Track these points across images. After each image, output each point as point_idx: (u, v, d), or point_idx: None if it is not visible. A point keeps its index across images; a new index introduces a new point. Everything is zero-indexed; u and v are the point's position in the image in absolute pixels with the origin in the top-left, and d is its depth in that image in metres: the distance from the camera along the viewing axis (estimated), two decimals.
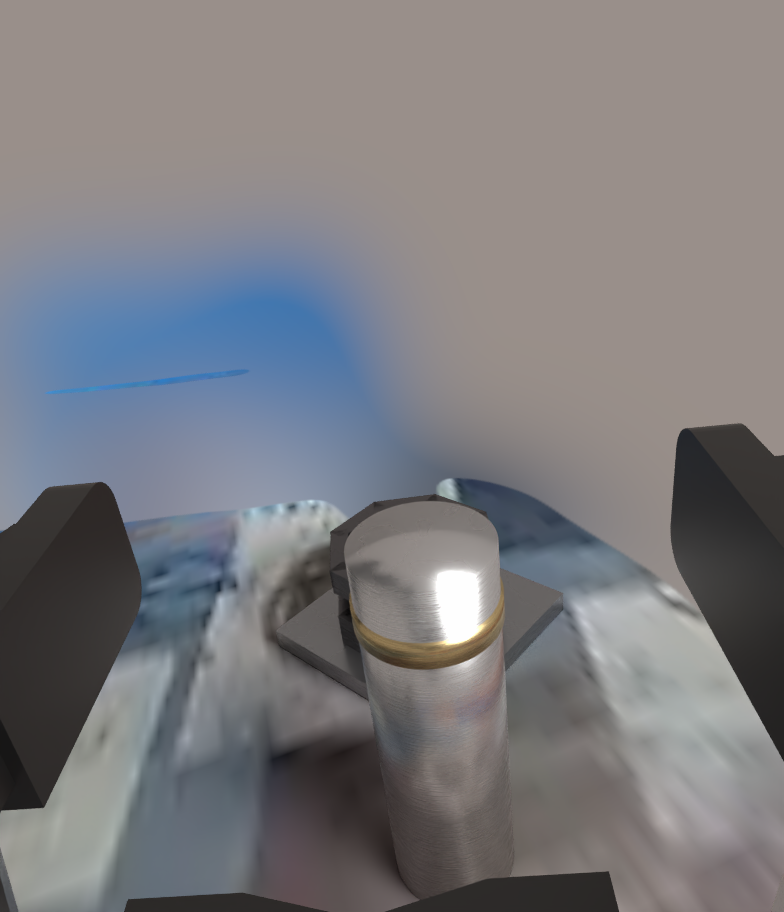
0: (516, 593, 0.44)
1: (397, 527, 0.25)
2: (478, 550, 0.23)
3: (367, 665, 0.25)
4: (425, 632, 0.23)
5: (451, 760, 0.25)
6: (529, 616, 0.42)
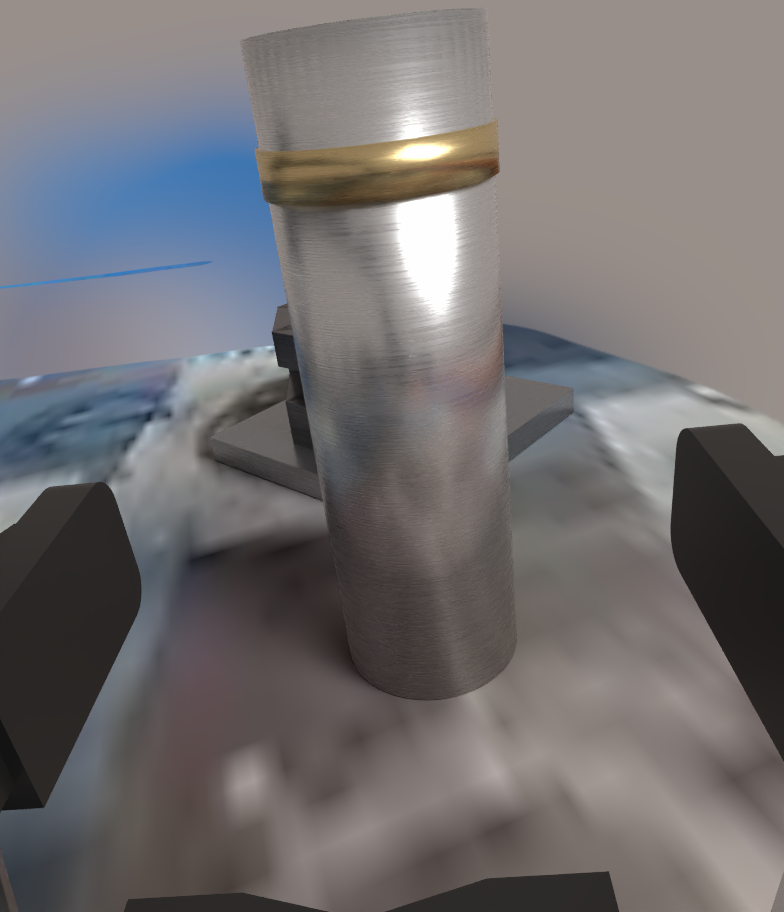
0: (514, 391, 0.35)
1: None
2: None
3: (284, 249, 0.16)
4: (367, 119, 0.14)
5: (418, 406, 0.16)
6: (531, 408, 0.33)
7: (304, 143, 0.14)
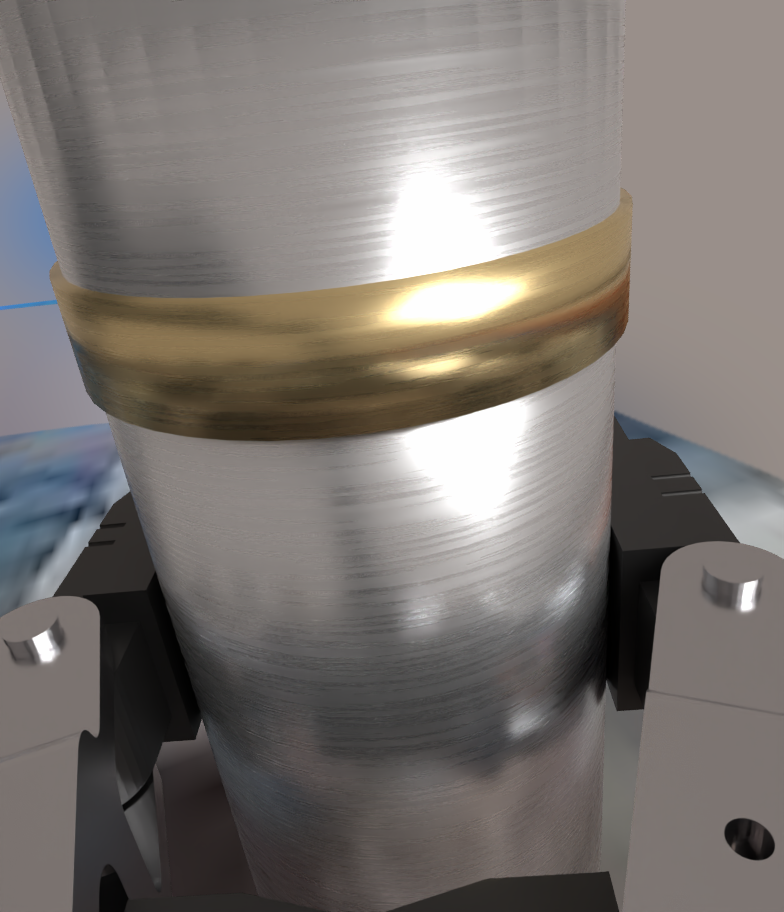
0: None
1: None
2: None
3: (130, 487, 0.07)
4: (299, 225, 0.05)
5: (437, 830, 0.07)
6: None
7: (130, 280, 0.05)
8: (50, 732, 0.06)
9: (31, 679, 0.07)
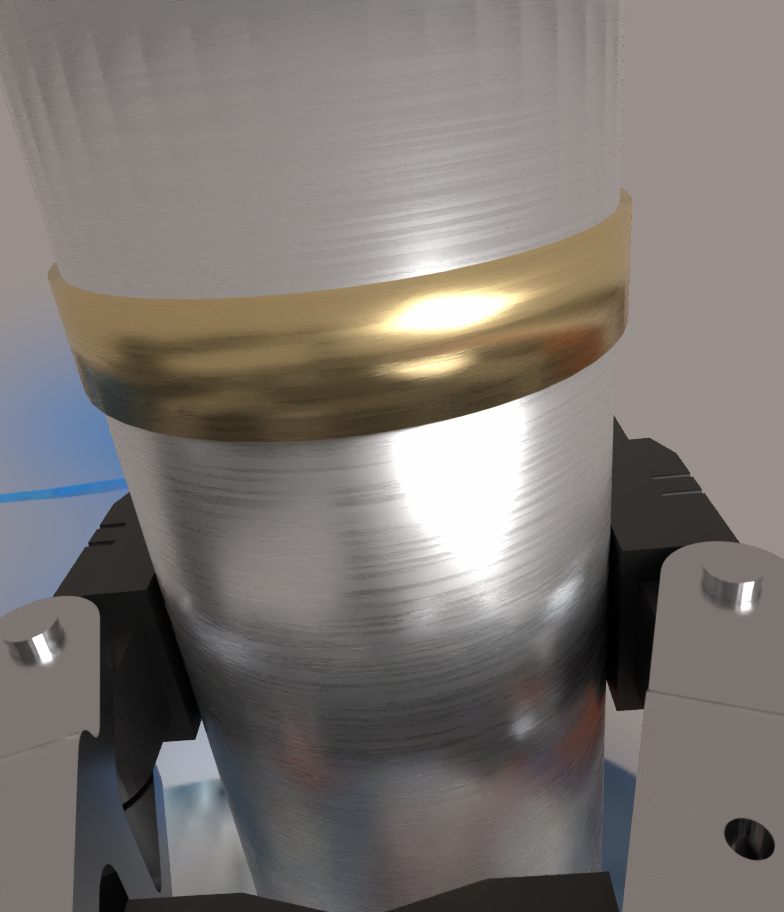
0: None
1: None
2: None
3: (129, 488, 0.07)
4: (298, 225, 0.05)
5: (437, 831, 0.07)
6: None
7: (129, 281, 0.05)
8: (50, 732, 0.06)
9: (31, 678, 0.07)
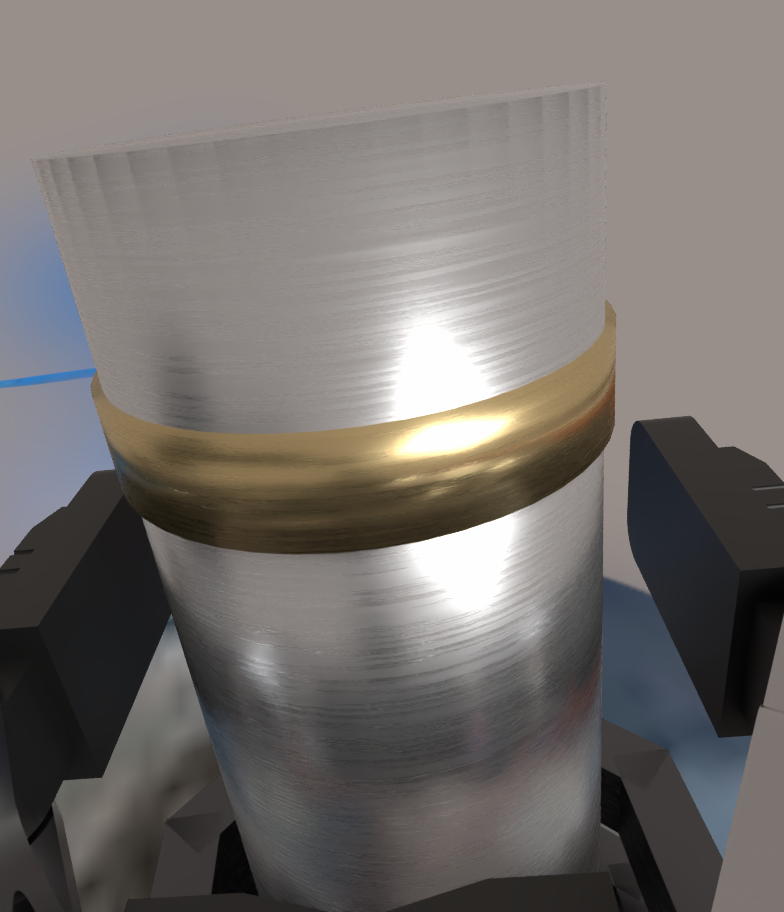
0: None
1: (258, 123, 0.08)
2: (535, 92, 0.06)
3: (161, 576, 0.08)
4: (320, 376, 0.05)
5: (443, 891, 0.08)
6: None
7: (169, 415, 0.06)
8: None
9: None
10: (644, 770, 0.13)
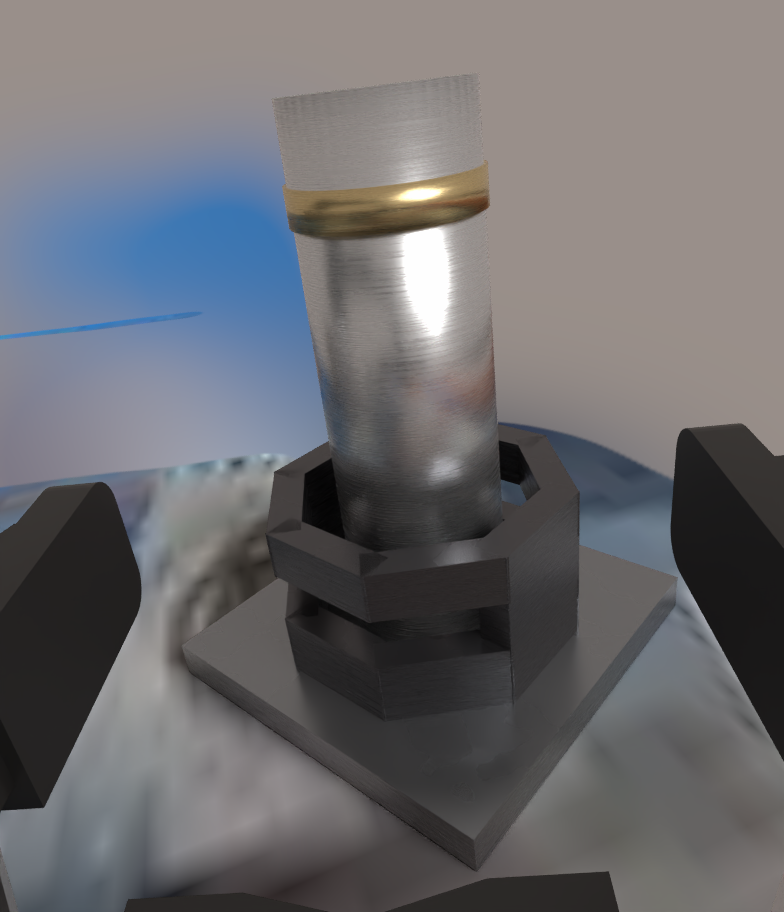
0: (595, 578, 0.26)
1: None
2: None
3: (307, 271, 0.19)
4: (379, 166, 0.16)
5: (420, 404, 0.19)
6: (625, 617, 0.24)
7: (326, 185, 0.17)
8: None
9: None
10: (531, 442, 0.24)
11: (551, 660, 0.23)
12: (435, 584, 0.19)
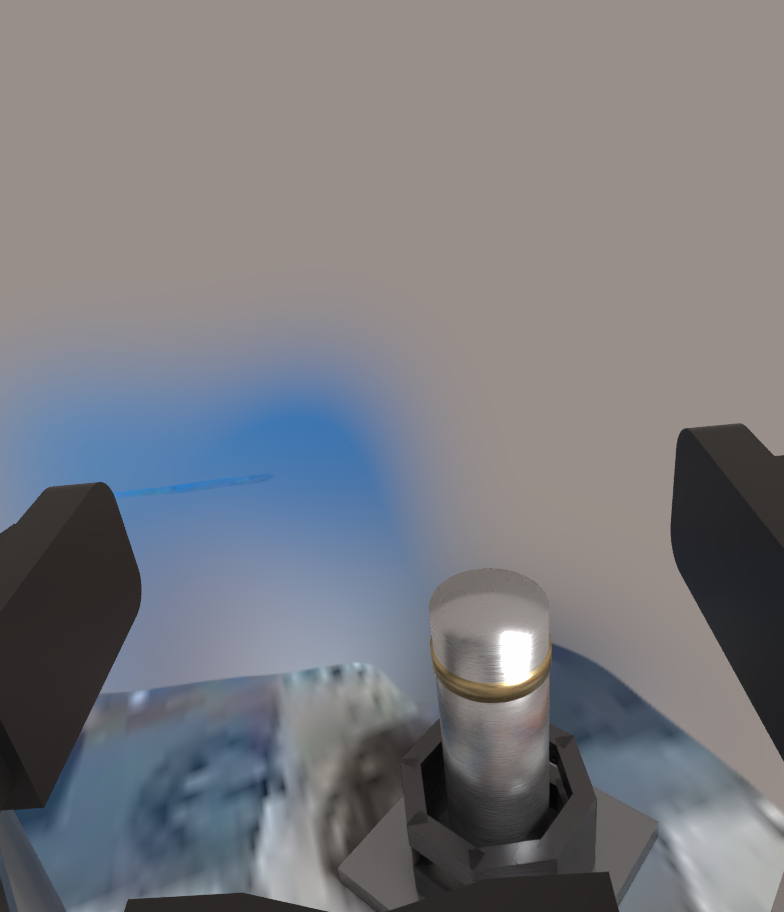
0: (605, 820, 0.39)
1: (468, 591, 0.32)
2: (534, 611, 0.31)
3: (445, 699, 0.32)
4: (496, 675, 0.30)
5: (509, 772, 0.33)
6: (624, 857, 0.38)
7: (465, 677, 0.30)
8: None
9: None
10: (564, 742, 0.38)
11: None
12: (514, 872, 0.33)
